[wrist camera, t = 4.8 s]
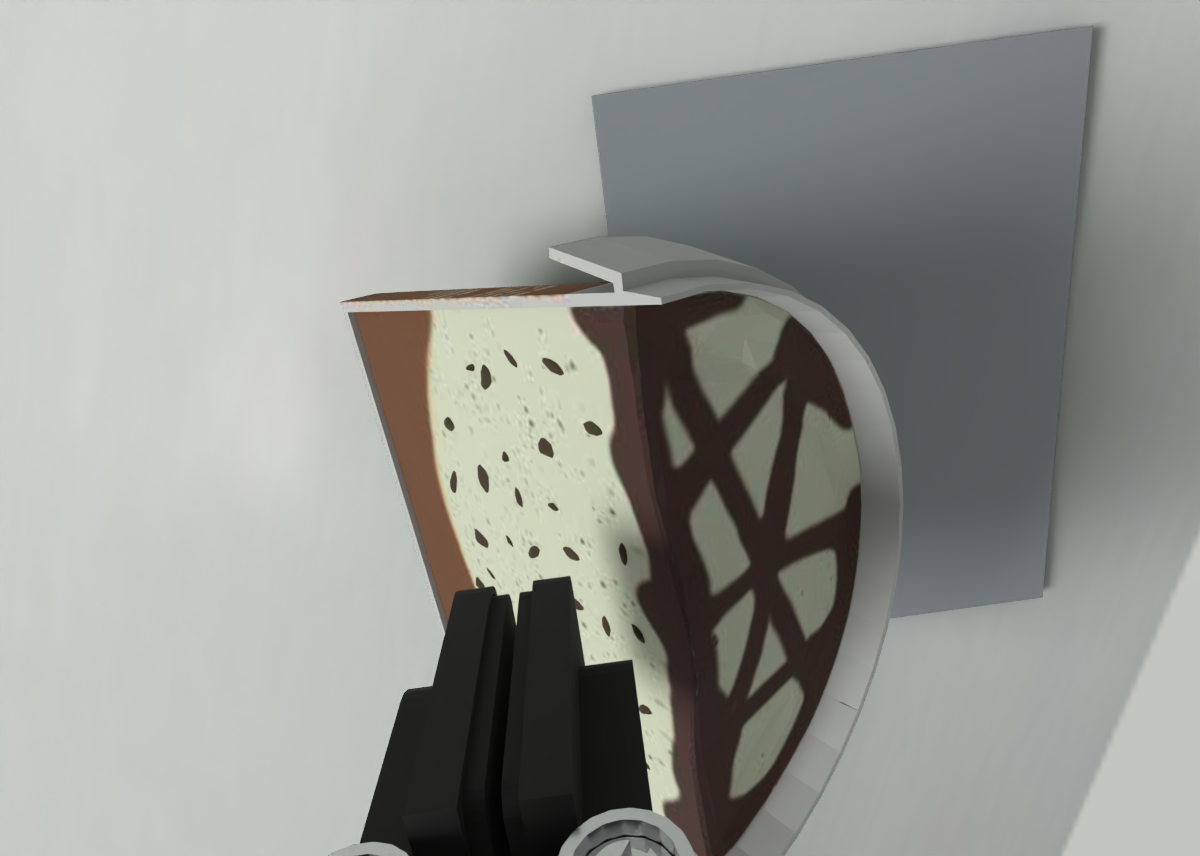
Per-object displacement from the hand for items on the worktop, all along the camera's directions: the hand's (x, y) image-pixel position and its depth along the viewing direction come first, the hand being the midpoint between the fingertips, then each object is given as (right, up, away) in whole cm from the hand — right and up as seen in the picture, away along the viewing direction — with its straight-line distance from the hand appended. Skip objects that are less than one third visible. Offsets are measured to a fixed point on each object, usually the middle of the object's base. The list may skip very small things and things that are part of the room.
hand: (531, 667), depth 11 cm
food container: (-2, +3, +9) cm, 10 cm away
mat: (+8, +5, +10) cm, 14 cm away
